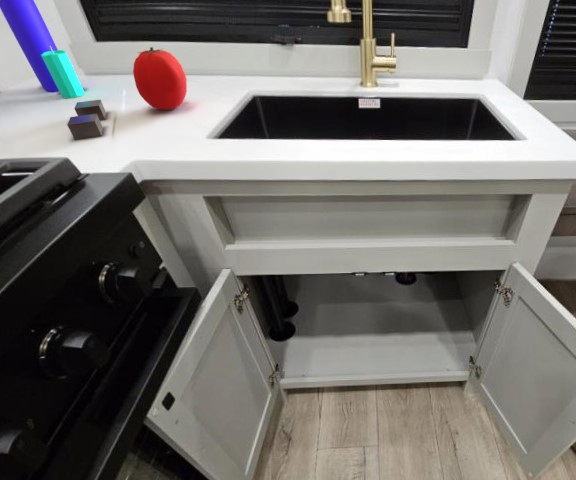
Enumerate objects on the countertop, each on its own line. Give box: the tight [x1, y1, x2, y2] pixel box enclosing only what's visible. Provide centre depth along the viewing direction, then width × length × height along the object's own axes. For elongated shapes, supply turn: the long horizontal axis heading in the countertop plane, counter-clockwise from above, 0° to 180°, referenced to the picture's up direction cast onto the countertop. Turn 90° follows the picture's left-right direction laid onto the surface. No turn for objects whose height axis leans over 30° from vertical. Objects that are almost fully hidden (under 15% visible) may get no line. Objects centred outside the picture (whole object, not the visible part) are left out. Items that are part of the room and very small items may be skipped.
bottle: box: [0, 0, 59, 93], centre depth 89 cm, size 8×8×30 cm
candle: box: [41, 46, 86, 99], centre depth 90 cm, size 6×6×12 cm
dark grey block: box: [66, 114, 104, 141], centre depth 68 cm, size 5×5×4 cm
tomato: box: [132, 46, 188, 111], centre depth 79 cm, size 12×12×13 cm
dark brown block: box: [73, 99, 107, 121], centre depth 76 cm, size 5×5×4 cm
